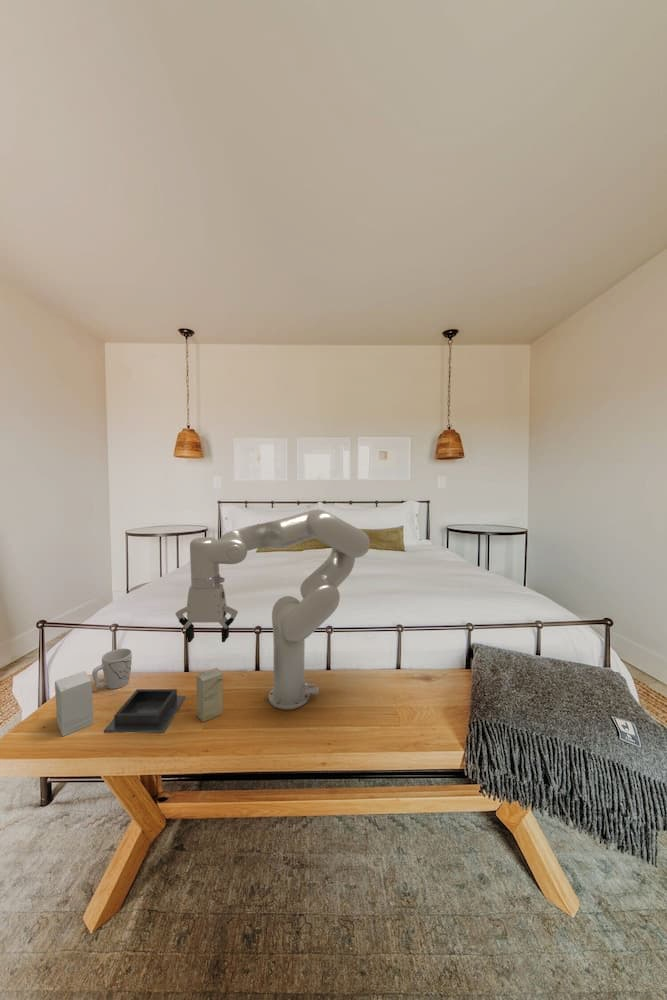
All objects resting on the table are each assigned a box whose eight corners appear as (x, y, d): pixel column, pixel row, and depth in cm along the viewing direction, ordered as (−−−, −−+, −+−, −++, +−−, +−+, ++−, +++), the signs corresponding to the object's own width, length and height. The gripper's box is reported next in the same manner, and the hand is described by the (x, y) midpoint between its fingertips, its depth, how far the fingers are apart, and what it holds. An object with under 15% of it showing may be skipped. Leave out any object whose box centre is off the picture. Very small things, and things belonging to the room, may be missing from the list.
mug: (99, 699, 113) (97, 668, 112) (88, 689, 118) (86, 659, 117) (137, 682, 122) (136, 653, 121) (125, 673, 127) (124, 645, 127)
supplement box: (94, 724, 102) (92, 680, 101) (61, 737, 97) (59, 692, 96) (87, 711, 108) (85, 670, 107) (56, 723, 102) (54, 680, 101)
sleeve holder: (185, 698, 114) (185, 686, 114) (163, 732, 99) (163, 719, 99) (133, 698, 114) (133, 686, 114) (104, 732, 99) (103, 719, 99)
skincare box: (202, 723, 103) (201, 681, 102) (196, 715, 106) (195, 674, 105) (223, 713, 107) (223, 673, 106) (217, 706, 111) (216, 667, 110)
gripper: (239, 577, 107) (241, 634, 109) (180, 577, 107) (183, 634, 109) (232, 585, 100) (234, 646, 101) (168, 586, 100) (171, 646, 101)
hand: (207, 640), depth 105 cm, fingers open, 9 cm apart
